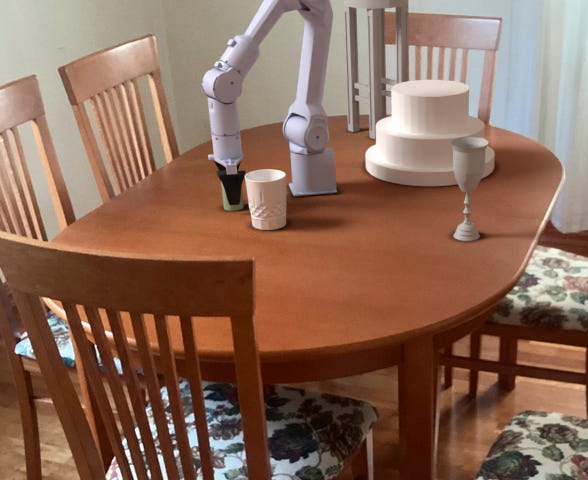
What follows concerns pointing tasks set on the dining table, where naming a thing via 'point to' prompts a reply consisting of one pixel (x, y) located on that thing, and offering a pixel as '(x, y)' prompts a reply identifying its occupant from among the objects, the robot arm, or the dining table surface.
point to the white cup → (267, 198)
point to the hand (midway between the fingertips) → (232, 198)
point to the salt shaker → (226, 204)
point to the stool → (373, 58)
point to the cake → (424, 134)
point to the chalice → (468, 178)
